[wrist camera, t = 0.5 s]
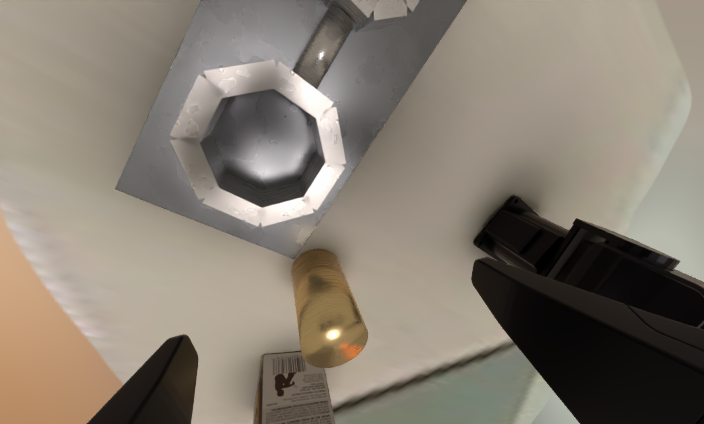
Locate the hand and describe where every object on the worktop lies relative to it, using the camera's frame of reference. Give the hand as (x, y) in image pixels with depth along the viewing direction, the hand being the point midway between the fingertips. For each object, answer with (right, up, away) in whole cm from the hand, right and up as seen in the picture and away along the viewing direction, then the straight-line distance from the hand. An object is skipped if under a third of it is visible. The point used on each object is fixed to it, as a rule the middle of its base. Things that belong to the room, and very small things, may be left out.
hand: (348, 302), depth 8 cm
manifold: (-3, +12, +9) cm, 15 cm away
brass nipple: (-3, -2, +16) cm, 16 cm away
